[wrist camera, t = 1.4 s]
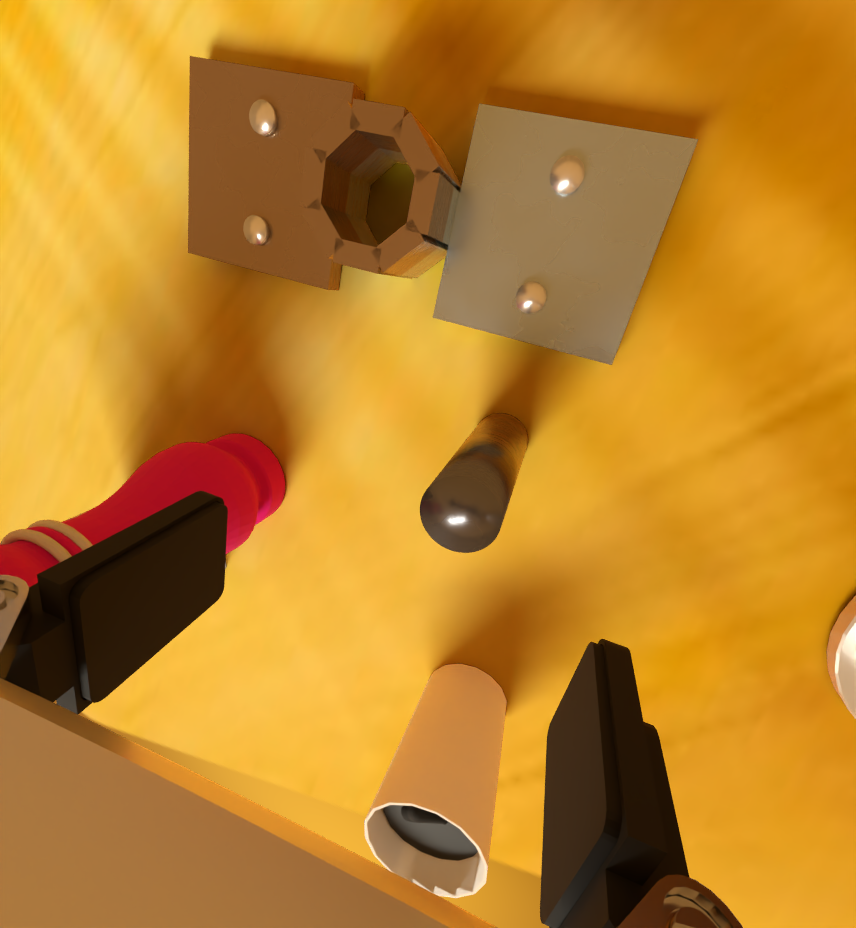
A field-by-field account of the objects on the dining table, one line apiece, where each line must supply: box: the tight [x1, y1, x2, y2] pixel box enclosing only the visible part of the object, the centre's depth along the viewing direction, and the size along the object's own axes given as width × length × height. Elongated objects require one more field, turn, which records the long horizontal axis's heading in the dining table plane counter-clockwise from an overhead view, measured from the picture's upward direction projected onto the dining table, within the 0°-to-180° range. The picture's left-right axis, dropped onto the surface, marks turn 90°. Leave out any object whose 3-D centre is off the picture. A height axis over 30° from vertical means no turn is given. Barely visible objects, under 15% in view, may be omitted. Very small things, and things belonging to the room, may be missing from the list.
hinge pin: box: [420, 413, 528, 553], centre depth 21 cm, size 3×3×10 cm
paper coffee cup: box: [364, 664, 507, 898], centre depth 27 cm, size 7×7×10 cm
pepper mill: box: [0, 433, 285, 587], centre depth 22 cm, size 7×7×20 cm
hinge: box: [188, 56, 698, 365], centre depth 21 cm, size 24×9×5 cm, turn 77°
